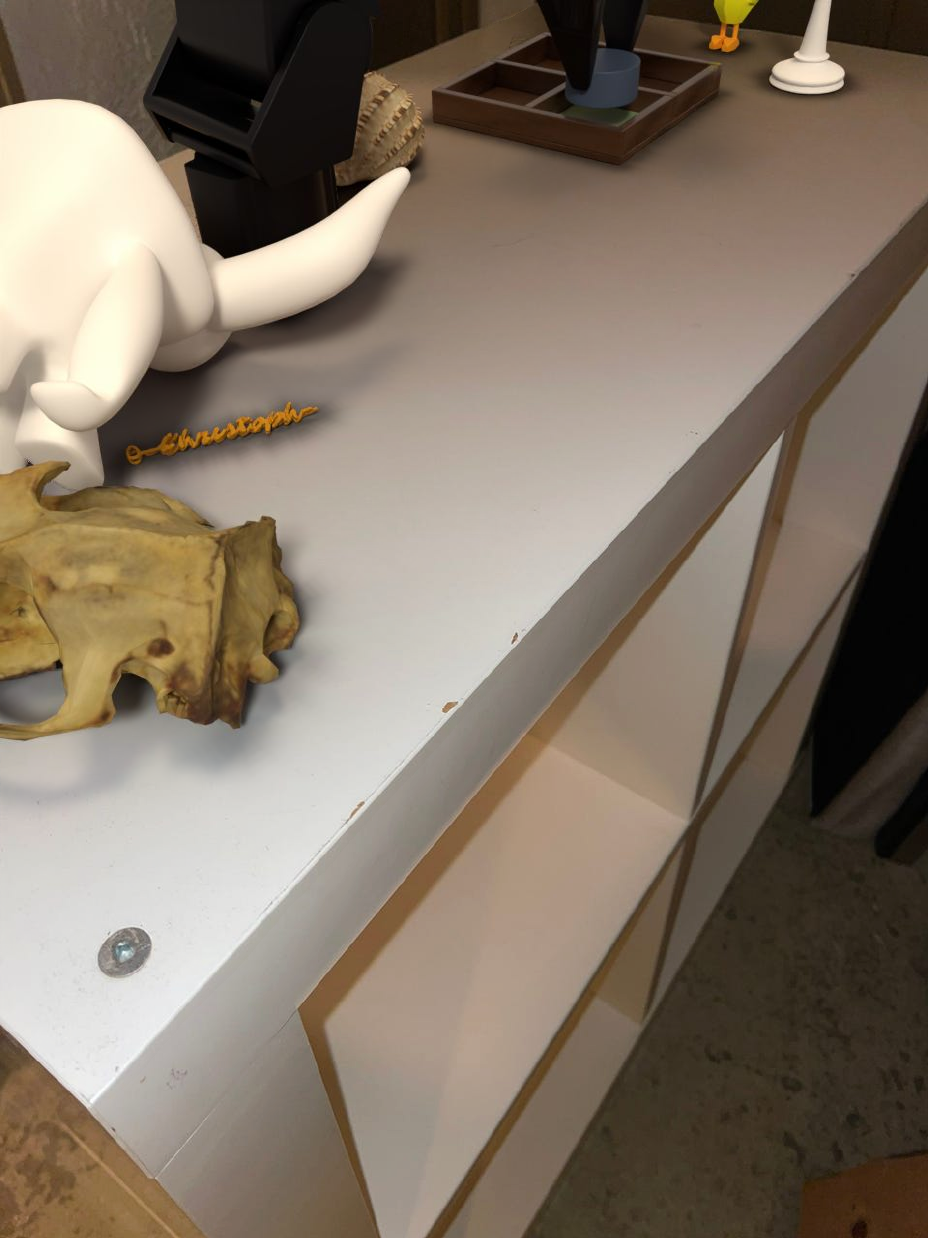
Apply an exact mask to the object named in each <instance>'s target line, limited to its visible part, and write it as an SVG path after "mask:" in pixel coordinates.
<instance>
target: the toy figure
mask: <svg viewBox="0 0 928 1238" xmlns="http://www.w3.org/2000/svg"><path fill="white" fill-rule="evenodd" d="M713 1H714V2H713V7H714V9H715V12H716V14H717V17H718V19H719V21H720V22H721V26H720V31H719V32H720V33H719V35H718V34H714V35H712V36H711V40H710V42H709V44H708V49H710V50H719V49H721V52H724V53H725V52H726V53H729V52H732V51H735V50H736V49H737V48H738V47H739V45H740V40H739V38H738V34H739V27H740V24H742V23H744V20H745V19H746V18H747V17H748V15H749V14H750V12H751V11H752V9H754V7H755V6H756V5H757V4H758V2H759V0H713ZM727 25H733V28H732V34H731V37H728V36H726V31H727V27H728V26H727Z"/></svg>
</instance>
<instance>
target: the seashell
mask: <svg viewBox="0 0 928 1238" xmlns="http://www.w3.org/2000/svg"><path fill="white" fill-rule="evenodd" d="M401 85H402V84H401V82H391V81H390V80H388V79H386V74H385V73H382V72H381V71H369V72H367V73H366V74H364V81H363V88H362V95H361V102H360V109H359V115H358V122H357V129H356V136H355V143H354V150H353V155H352V157H351V158H350V159H348V160H346V161H343V162H341V163H338V164H336V165H334V169H335V177H336V185H337V186H338V187H345V186H350V185H354V184H356V183H359V182H364V181H375V180H377V179H378V178H380V177H381V176H383V175H385V174H386V173H388V172H390V171H392V170H394V169H396V168H399V167H404V168H406V167H407V166H408V165H409V164H410V163H411V162H412V161H414V159H415V157H416V156H417V155H418V154H419V152H420V150H421V148H422V146H423V144H424V140H425V137H426V132H425V131H426V130H425V125H424V122H423V113H422V111H421V107H417V106H416V102H414V101H413V98H414V96H413V95H414V94H413V93H410V94H407V92H406V89H402V87H401Z"/></svg>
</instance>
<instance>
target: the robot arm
mask: <svg viewBox="0 0 928 1238" xmlns="http://www.w3.org/2000/svg"><path fill="white" fill-rule="evenodd" d="M535 1H536V2H537V5H538V7H539V9H540V11H541V14H542V15H543V19H544V21H545V24H546V27H547V28H548V31H549V33H550V34H551V36H552V39H553V41H554V44H555V47H556V49H557V52H558V54H559V57H560V60H561V62H562V65H563V67H564V70H565V73H566V75H567V78H568V80H569V83H570V85H571V87H572V88H573V89H576V90H581V91H586V90H588V89H589V88H590V85H591V80H592V76H593V71H594V67H595V61H596V55H597V49H598V43H599V42H600V36H601V30H603V37H604V41H605V43H606V47H607V48H610V49H619V50H624V51H628V52H631V53H632V52H633V50H634V48H636V47H635V46H636V44H637V40H638V38H639V35H640V32H641V30H642V27H643V24H644V20H645V19H646V15H647V12H648V8H649V6H650V3H651V1H652V0H535ZM174 9H175V18H176V23H175V24H174V28H173V29H172V32H171V34H170V36H169V38H168V40H167V42H166V45H165V47H164V48H163V49H164V50H163V52H162V54H161V56H160V58H159V60H158V63H157V65H156V67H155V69H154V72H153V74H152V76H151V78H150V81H149V83H148V85H147V87H146V90H145V92H144V94H143V96H142V104H143V106H144V109H145V110H146V112H147V113H148V115H149V116H150V118H151V120H152V122H153V123H154V125H155V127H156V129H157V130H158V131H159V133H160V135H161V137H162V138H163V140H165V141H167V142H169V143H172V144H175V143H176V144H178V145H181V146H183V147H185V148H187V149H189V150H191V151H194V153H193V159H191V160H189V161H187V162H185V163H184V164H183V168H184V171H185V176H186V180H187V184H188V189H189V194H190V197H191V201H192V206H193V210H194V214H195V219H196V222H197V227H198V231H199V235H200V239H201V243H203V244H205V245H207V246H209V247H210V248H212V249H213V250H215V251H216V252H217V253H219V254H220V255H221V256H222V257H223V258H224V259H227V258H232V257H235V256H239V255H242V254H245V253H248V252H251V251H254V250H257V249H260V248H263V247H266V246H268V245H271V244H274V243H276V242H279V241H281V240H284V239H286V238H288V237H291V236H293V235H296V234H298V233H300V232H302V231H304V230H306V229H308V228H310V227H312V226H314V225H315V224H317V223H319V222H320V221H322V220H324V219H325V218H327V217H328V216H330V215H331V214H333V213H334V212H335V211H337V210H338V209H339V208H340V203H339V194H338V193H339V192H338V187H337V185H336V177H335V169H334V165H336V164H338V163H341V162H343V161H346V160H348V159H350V158H351V157H352V155H353V150H354V143H355V136H356V129H357V122H358V115H359V109H360V102H361V95H362V88H363V81H364V74H367V73H369V72H370V69H371V64H372V59H373V52H374V51H373V49H374V47H373V46H374V44H373V41H374V40H373V39H374V37H373V35H374V33H373V31H374V29H373V24H372V19H373V20H377V21H380V20H382V19H383V16H384V13H383V10H382V8H381V5H380V2H379V0H174ZM252 101H255V102H258V103H260V106H257V105H254V104H252Z"/></svg>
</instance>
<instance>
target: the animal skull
mask: <svg viewBox="0 0 928 1238" xmlns="http://www.w3.org/2000/svg"><path fill="white" fill-rule="evenodd" d="M70 466H71V464H70V463H68V462H61V461H48V462H44V463H40V464H36V465H33V464H32V465H29V466H26V467H25V468H21V469H18V470H15V471H13V472H11V473H10V474H1V475H0V682H3V681H8V680H13V679H18V678H22V677H27V676H28V675H31V674H33V673H35V672H36V673H39V672H50V671H54V670H56V669H57V663H56V662H57V661H60V663H61V664H62V672H61V681H62V686H63V689H64V692H65V697H64V699H63V702H62V705H61V707H60V709H59V710H58V712H57V714H55V715H53V716H51V717H50V718H48V719H45V720H44V721H42V722H40V723H33V724H32V723H31V724H14V723H13V724H11V723H0V739H6V740H13V741H22V742H26V741H30V740H31V741H32V740H34V739H38V738H45V737H49V736H50V737H51V736H57V735H61V734H66V733H72V732H76V731H77V732H78V731H80V730H86V729H93V728H94V729H95V728H102V727H104V726H106V725H109V724H111V723H112V720H113V718H114V717H115V715H116V713H117V710H116V708H115V705H114V701H113V697H112V695H113V693H114V691H115V688H116V686H117V684H118V682H119V681H120V679H121V677H122V674H134V675H136V676H138V677H140V678H142V679H145V680H146V681H147V682H148V683H149V684H150V685H151V687H152V689H153V691H154V693H155V696H156V697H155V698H156V699H155V700H154V701H155V704H156V707H157V710H158V713H159V715H162V714H165V713H167V714H169V715H171V716H173V717H176V718H178V719H181V720H187V721H190V722H191V723H193V724H195V725H201V726H207V725H213V723H215V722H216V721H217V720H220V721H221V722H223V723H225V724H227V725H229V727H230V728H231V729H232V731H233V730H237V729H241V725H242V712H243V708H244V704H245V698H246V697H245V696H246V690H247V684H248V681H250V682H251V683H254V684H257V685H267V684H269V683H271V682H272V681H274V680H277V679H278V678H279V673H280V670H279V668H278V667H277V666H276V665H275V664H274V663H273V662H272V661H271V659H270V654H271V653H273V652H275V651H288V650H290V648H291V647H290V646H291V644H292V641H293V640H294V638H295V636H296V634H297V632H298V630H299V625H300V618H299V613H298V608H297V605H296V603H295V602H294V595H295V594H294V593H295V592H294V591H295V589H294V588H295V584H294V583H293V582H292V581H291V580H290V578H289V577H288V576H287V575H286V574H285V573H284V570H283V569H282V566H281V563H282V560H283V552H282V551H283V550H282V548H281V547H280V546H279V544H278V537H277V526H276V524H277V523H276V522H277V520H276V519H275V518H273V517H272V516H269V515H261V517H260V519H259V521H256V520H246V521H245V523H244V524H240V525H236V526H233V527H227V528H224V529H221V530H220V529H219V530H213V528H215V527H216V526H215V525H213V524H212V523H211V522H209V521H207V520H206V519H205V518H203V517H202V516H201V515H200V514H198V513H197V512H196V511H195V510H194V509H193V508H191V507H190V506H188V505H187V504H185V503H184V502H182V501H180V500H176V499H174V498H172V497H170V496H168V495H166V494H164V493H163V492H161V491H159V490H158V489H156V488H146V487H145V488H144V487H143V488H142V487H138V486H136V485H135V486H134V485H129V486H125V485H124V486H123V485H122V486H121V485H120V486H108V485H107V486H106V485H103V486H95V487H88V488H85V489H82V490H80V491H78V492H76V491H74V492H73V493H71V494H70V493H69V494H60V495H51V494H43V492H44V488H45V486H46V485H47V484H49V483H50V482H53V479H54V478H56V477H57V476H58V475H59V474H61V473H62V472H63V471H67V470H68V469H69V468H70ZM210 528H211V529H210Z"/></svg>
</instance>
